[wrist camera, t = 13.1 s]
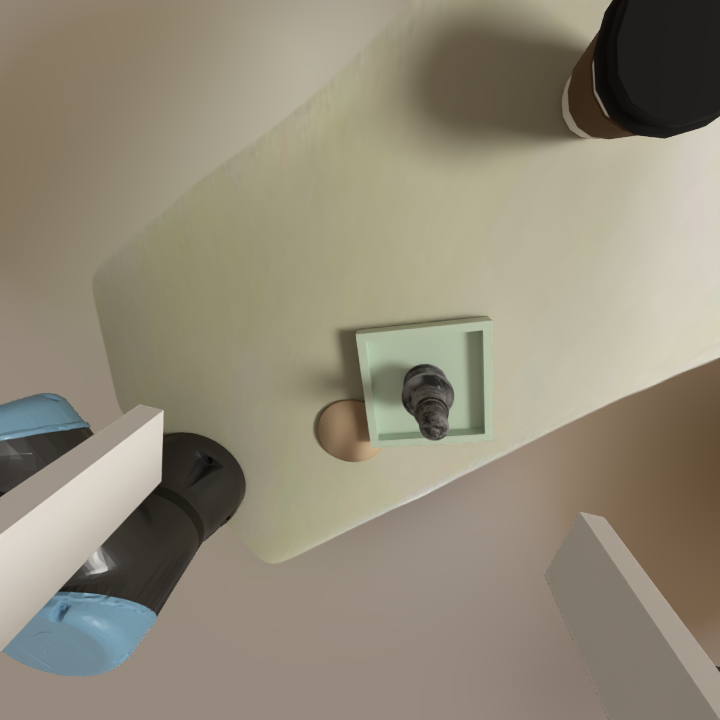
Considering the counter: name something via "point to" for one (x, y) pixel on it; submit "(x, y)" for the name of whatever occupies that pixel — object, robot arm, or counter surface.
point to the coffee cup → (648, 71)
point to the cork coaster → (346, 431)
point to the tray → (435, 347)
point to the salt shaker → (428, 400)
